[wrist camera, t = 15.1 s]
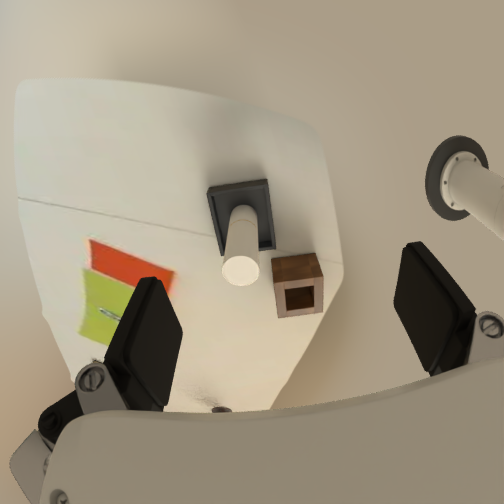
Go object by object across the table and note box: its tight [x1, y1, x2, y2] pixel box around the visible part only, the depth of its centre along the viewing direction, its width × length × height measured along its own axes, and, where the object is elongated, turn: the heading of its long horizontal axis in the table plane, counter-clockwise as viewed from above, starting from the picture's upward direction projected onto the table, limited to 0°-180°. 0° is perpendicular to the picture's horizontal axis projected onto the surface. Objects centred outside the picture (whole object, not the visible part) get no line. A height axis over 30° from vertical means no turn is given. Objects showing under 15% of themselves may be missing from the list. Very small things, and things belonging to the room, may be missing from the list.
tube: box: [222, 205, 259, 286], centre depth 39 cm, size 4×4×15 cm
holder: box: [271, 253, 323, 318], centre depth 49 cm, size 8×8×7 cm
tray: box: [207, 179, 276, 256], centre depth 45 cm, size 9×11×3 cm
